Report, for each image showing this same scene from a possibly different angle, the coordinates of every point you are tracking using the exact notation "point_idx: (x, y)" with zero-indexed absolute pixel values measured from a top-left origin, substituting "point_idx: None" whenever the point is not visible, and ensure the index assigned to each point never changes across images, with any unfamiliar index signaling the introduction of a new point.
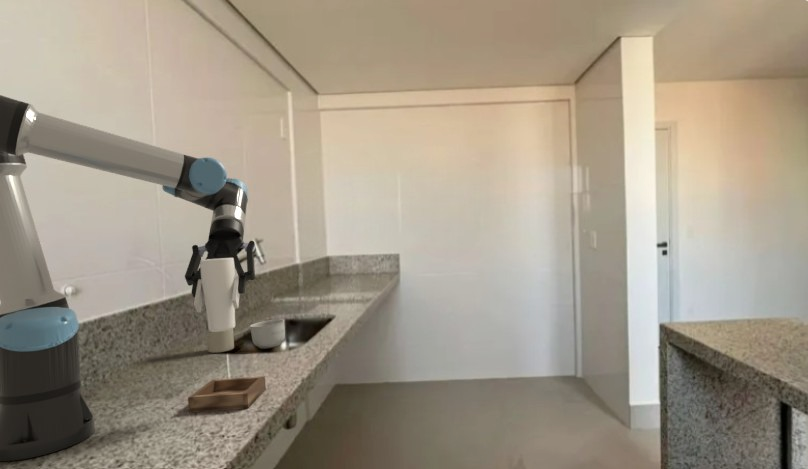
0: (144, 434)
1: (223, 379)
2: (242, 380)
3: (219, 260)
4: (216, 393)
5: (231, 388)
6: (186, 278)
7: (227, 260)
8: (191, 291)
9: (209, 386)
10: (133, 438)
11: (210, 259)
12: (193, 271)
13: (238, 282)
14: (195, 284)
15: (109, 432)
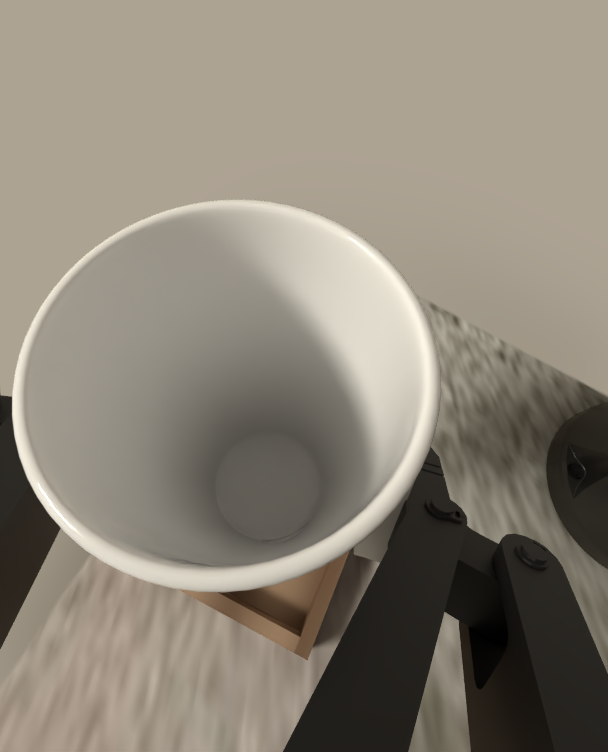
0: (439, 413)
1: (274, 634)
2: (222, 593)
3: (233, 207)
4: (299, 594)
5: (256, 608)
6: (528, 539)
7: (149, 230)
8: (438, 457)
9: (317, 592)
10: (455, 404)
11: (308, 551)
12: (507, 655)
13: None
14: (428, 490)
15: (513, 469)
